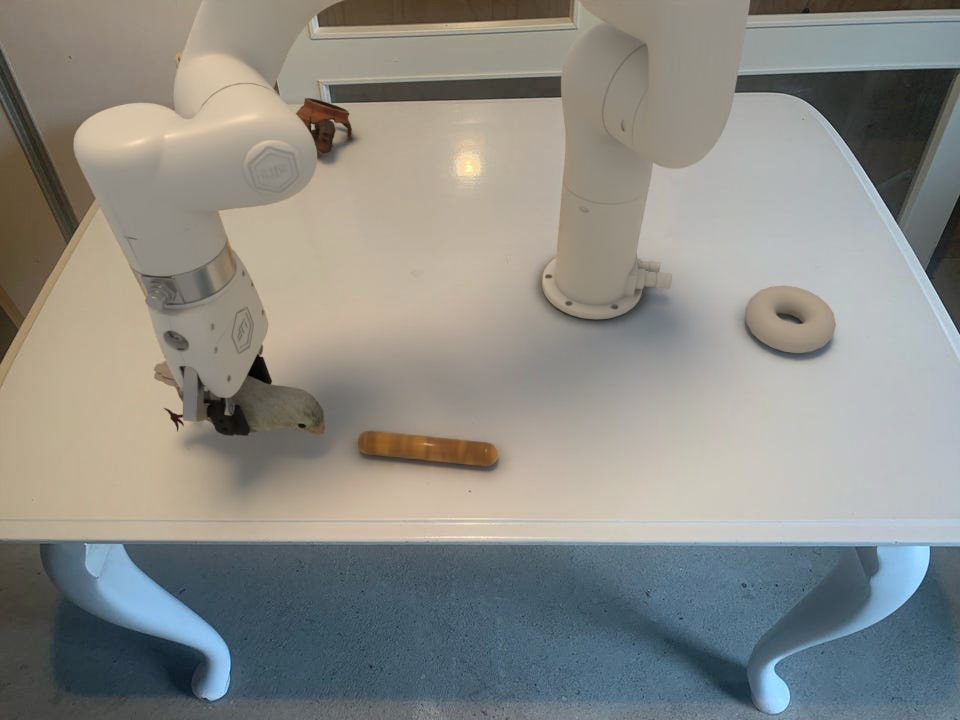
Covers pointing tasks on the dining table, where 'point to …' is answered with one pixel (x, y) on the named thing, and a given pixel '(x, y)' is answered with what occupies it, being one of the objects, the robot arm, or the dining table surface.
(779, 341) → the donut
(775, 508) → the dining table surface
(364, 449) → the polished stone stick
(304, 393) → the decorative bird
